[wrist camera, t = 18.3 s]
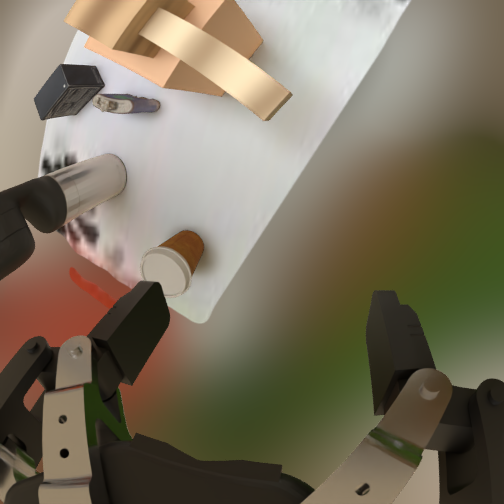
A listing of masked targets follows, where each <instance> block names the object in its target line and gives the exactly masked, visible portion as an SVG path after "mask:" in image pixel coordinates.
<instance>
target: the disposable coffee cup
mask: <svg viewBox="0 0 504 504" xmlns="http://www.w3.org/2000/svg"><path fill="white" fill-rule="evenodd" d="M203 250H204V244H203V241H202V239H201V238H200V237H199V236H198V235H197V234H196V233H194V232H192V231H188V230H185V231H181V232H179V233H178V234H176V235H175V236H173V237H172V238H170V239H168V240H167V241H165V242H164V243H162V244H161V245H159V246H158V247H154V248H151V249H149V250H148V251H147V252H146V253H145V254H144V255H143V258H142V261H141V265H140V273H141V276H142V279H143V281H154V282H159V283H160V284H161V286H162V289H163V293H164V296H165V297H167V298H173V297H177V296H179V295H182V294H183V293H185V292H186V291H187V290H188V289H189V287H190V284H191V278H192V275H193V273H194V271H195V269H196V266H197V264H198V262H199V260H200V257H201V255H202V253H203Z"/></svg>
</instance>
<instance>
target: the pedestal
mask: <svg viewBox="0 0 504 504" xmlns="http://www.w3.org/2000/svg"><path fill="white" fill-rule="evenodd" d="M187 1H189V2H190V3H191V4H193V5H194V6H195V7H194V8H193V9H192V11H191V12H190V13H189V14H188V15H187V16H186V17H185V19H184V20H185V21H187V22H188V23H190V24H192V25H194V26H196V27H197V28H199V29H201V30H202V31H204V32H206V33H208V34H209V35H211V36H213V37H214V38H216V39H217V40H219V41H221V42H222V43H224V44H225V45H227V46H228V47H230V48H231V49H233V50H234V51H236V52H237V53H239V54H240V55H242V56H243V57H245V58H246V59H248V60H249V58H250V57H251V56H252V55H253V53H254V52H255V51H256V49H257V48H258V47H259V46H260V44H261V43H262V42H263V39H262V38H261V36H260V35H259V34H258V32H257V31H256V29H255V28H254V26H253V25H252V23H251V22H250V21H249V19H248V18H247V16H246V15H245V14H244V12H243V11H242V10H241V8H240V7H239V6H238V4H237V3H236V2H235V0H187ZM84 47H85V48H87V49H89V50H91V51H93V52H95V53H98V54H100V55H102V56H104V57H106V58H108V59H110V60H112V61H114V62H116V63H118V64H120V65H122V66H124V67H126V68H127V69H129V70H131V71H133V72H135V73H137V74H139V75H141V76H142V77H144V78H146V79H148V80H150V81H151V82H153V83H155V84H157V85H158V86H160V87H162V88H168V89H176V90H184V91H191V92H198V93H204V94H210V95H216V96H221V97H222V95H223V94H224V92H225V90H223V89H222V88H221V87H219V86H218V85H217V84H215V83H214V82H212V81H211V80H210V79H208V78H207V77H205V76H204V75H203V74H201V73H200V72H198V71H197V70H195V69H194V68H192V67H191V66H189V65H188V64H186V63H185V62H183V61H182V60H180V59H179V58H177V57H176V56H174V55H173V54H171V53H169V52H168V51H166V50H165V49H163V48H161V49H160V50H159V51H158V53H157V54H156V56H155V57H154V58H150V57H146V56H141V55H137V54H132V53H128V52H123V51H118V50H112V49H110V48H109V47H107V46H106V45H104V44H102V43H101V42H99V41H97V40H96V39H94V38H92V37H91V36H89V38H88V40H87V42H86V44H85V46H84Z"/></svg>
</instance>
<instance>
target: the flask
mask: <svg viewBox="0 0 504 504" xmlns="http://www.w3.org/2000/svg"><path fill="white" fill-rule="evenodd" d="M93 105H94V106H95V107H97V108H99V109H100V110H101V111H102V112H104V111H105V112H111V113H118V114H127V113H140V112H155V111H157V110H158V109H159V105H160V103H159V102H158V101H157V100H154V99H147V98H144V97H141V98H140V97H139V98H138V97H137V96H135V97H134V96H132V95H129V94H96V95H95V96H94V97H93Z"/></svg>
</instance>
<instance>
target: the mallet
mask: <svg viewBox="0 0 504 504" xmlns="http://www.w3.org/2000/svg"><path fill="white" fill-rule="evenodd" d="M194 7H195V6H194V5H193V4H191V3H190V2H189V1H187V0H76V2H75V3H74V5H73V7H72V8H71V10H70V11H69V13H68V15H67V16H66V18H65V20H64V22H66V23H68V24H69V25H71V26H73V27H75V28H77V29H78V30H80V31H82V32H84V33H85V34H87V35H89V36H91V37H92V38H94V39H96V40H97V41H99V42H101V43H102V44H104V45H106V46H107V47H109V48H110V49H112V50H118V51H123V52H128V53H132V54H137V55H141V56H146V57H150V58H154V57H155V56H156V54H157V53H158V51H159V50H160V49H161V48H163V49H165V50H166V51H168V52H169V53H171V54H173V55H174V56H176V57H177V58H179V59H180V60H182V61H183V62H185V63H186V64H188V65H189V66H191V67H192V68H194V69H195V70H197V71H198V72H200V73H201V74H203V75H204V76H205V77H207V78H208V79H210V80H211V81H212V82H214V83H215V84H217V85H218V86H219V87H221V88H222V89H223V90H225V91H226V92H227V93H229V94H230V95H231V96H233V97H234V98H235V99H237V100H238V101H239V102H240V103H242V104H243V105H244V106H246V107H247V108H248V109H249V110H251V111H252V112H253V113H254V114H256V115H257V116H258V117H259V118H261V119H262V120H263V121H269V120H270V119H271V118H272V117H273V116H274V115H275V114H276V112H277V111H278V110H279V109H280V108H281V107H282V106H283V105H284V104H285V103H286V102H287V101H288V100H289V99H290V98H291V96H292V94H291V92H290V91H289V90H287V89H286V88H285V87H284V86H282V85H281V84H280V83H279V82H277V81H276V80H275V79H273V78H272V77H271V76H269V75H268V74H267V73H266V72H264V71H263V70H261V69H260V68H259V67H257V66H256V65H255V64H253V63H252V62H250V61H249V60H248V59H246V58H245V57H243V56H242V55H240V54H239V53H237V52H236V51H234V50H233V49H231V48H230V47H228V46H227V45H225V44H224V43H222V42H221V41H219V40H217V39H216V38H214V37H213V36H211V35H209V34H208V33H206V32H204V31H202V30H201V29H199V28H197V27H196V26H194V25H192V24H190V23H188V22H187V21H185V20H184V19H185V17H186V16H187V15H188V14H189V13H190V12H191V11H192V9H193V8H194Z"/></svg>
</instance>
